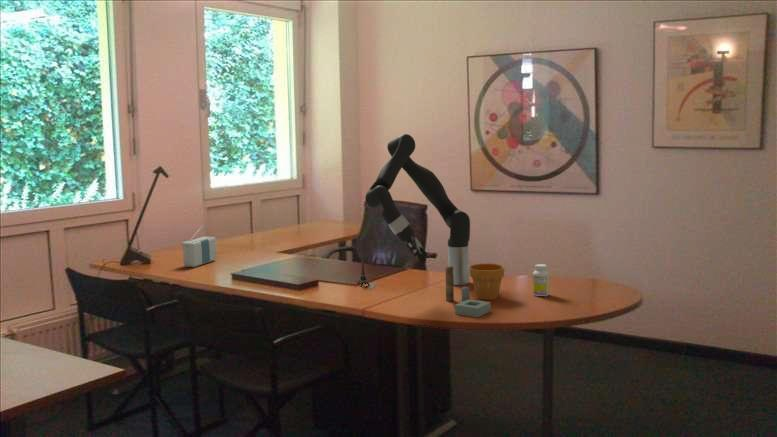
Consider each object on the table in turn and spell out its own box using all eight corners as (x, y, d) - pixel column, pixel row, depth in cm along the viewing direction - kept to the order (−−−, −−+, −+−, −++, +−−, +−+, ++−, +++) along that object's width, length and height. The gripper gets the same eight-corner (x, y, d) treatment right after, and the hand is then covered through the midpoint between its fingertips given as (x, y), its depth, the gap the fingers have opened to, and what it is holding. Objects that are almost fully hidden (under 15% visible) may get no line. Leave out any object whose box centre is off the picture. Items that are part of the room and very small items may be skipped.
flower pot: (503, 301, 303) (503, 270, 301) (468, 301, 306) (468, 270, 304) (504, 293, 317) (504, 263, 315) (471, 293, 319) (470, 263, 317)
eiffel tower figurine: (369, 291, 329) (368, 261, 327) (348, 290, 332) (347, 261, 330) (380, 283, 343) (379, 255, 341) (359, 283, 346) (358, 254, 344)
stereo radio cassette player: (194, 268, 387) (192, 230, 384) (181, 267, 389) (179, 229, 387) (217, 260, 406) (215, 224, 403) (205, 259, 409) (203, 223, 406)
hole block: (467, 307, 295) (467, 299, 295) (490, 311, 289) (490, 302, 289) (455, 313, 287) (455, 305, 286) (478, 317, 281) (478, 308, 281)
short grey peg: (464, 303, 302) (463, 286, 301) (471, 304, 300) (470, 287, 299) (460, 305, 300) (460, 288, 299) (467, 306, 298) (467, 289, 297)
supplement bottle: (538, 292, 317) (538, 262, 315) (552, 295, 312) (552, 264, 311) (529, 295, 313) (529, 265, 311) (543, 298, 308) (543, 267, 306)
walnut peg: (448, 299, 310) (447, 266, 308) (455, 300, 308) (454, 266, 306) (444, 300, 307) (444, 267, 305) (451, 301, 305) (450, 268, 303)
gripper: (395, 229, 313) (419, 260, 315) (392, 237, 299) (417, 269, 301) (410, 219, 312) (433, 249, 313) (407, 226, 298) (431, 258, 299)
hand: (425, 259), depth 307 cm, fingers open, 8 cm apart
